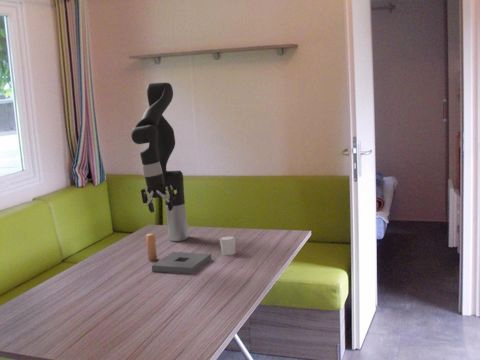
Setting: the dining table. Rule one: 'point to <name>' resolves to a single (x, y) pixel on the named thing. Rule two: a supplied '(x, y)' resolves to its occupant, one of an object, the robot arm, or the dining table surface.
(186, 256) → the peg board
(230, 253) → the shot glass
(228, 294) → the dining table surface
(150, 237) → the peg
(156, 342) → the dining table surface
